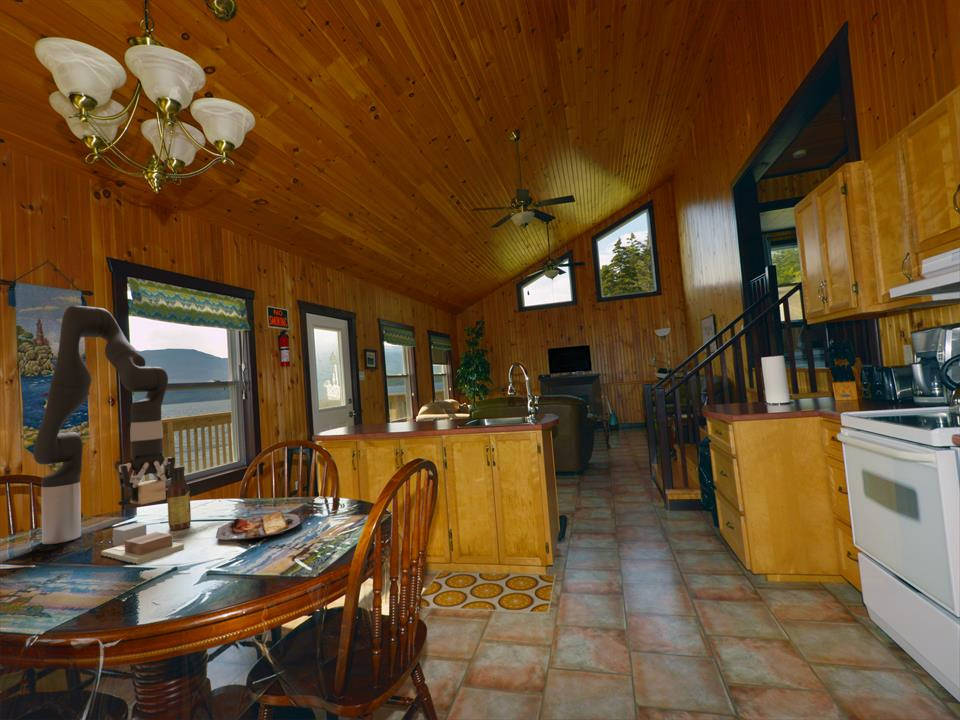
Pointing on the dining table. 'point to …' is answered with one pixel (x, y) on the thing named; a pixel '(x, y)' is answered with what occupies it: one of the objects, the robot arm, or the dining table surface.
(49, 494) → the robot arm
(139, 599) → the dining table surface
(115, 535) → the grey brick
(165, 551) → the build board
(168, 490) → the sauce bottle
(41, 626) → the dining table surface
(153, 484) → the oak brick
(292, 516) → the food plate
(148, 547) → the base brick
